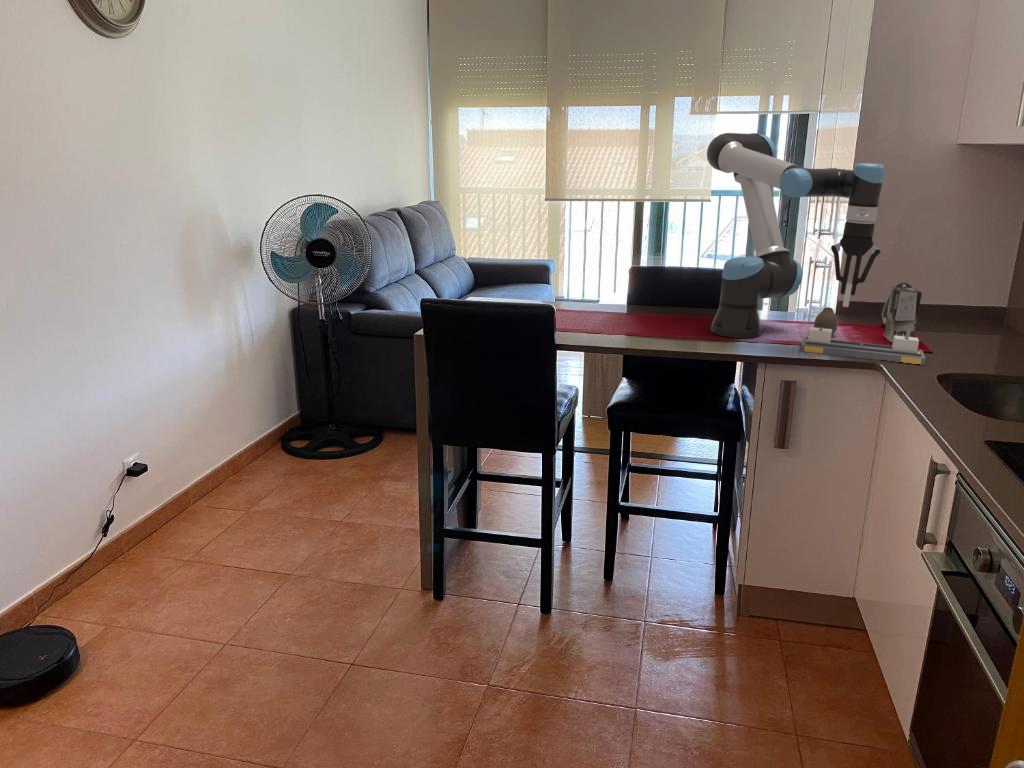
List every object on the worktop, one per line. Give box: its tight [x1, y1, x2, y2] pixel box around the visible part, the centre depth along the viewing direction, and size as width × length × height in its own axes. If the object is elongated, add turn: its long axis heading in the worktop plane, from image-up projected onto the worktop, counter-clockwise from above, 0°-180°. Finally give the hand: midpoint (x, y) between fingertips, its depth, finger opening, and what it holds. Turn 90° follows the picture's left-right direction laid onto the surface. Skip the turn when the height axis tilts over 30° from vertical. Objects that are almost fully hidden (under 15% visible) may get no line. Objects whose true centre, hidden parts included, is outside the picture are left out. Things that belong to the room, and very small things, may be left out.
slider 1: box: [807, 326, 832, 344], centre depth 218 cm, size 6×4×4 cm, turn 67°
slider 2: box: [891, 335, 920, 353], centre depth 210 cm, size 6×4×4 cm, turn 67°
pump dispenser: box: [881, 281, 914, 325], centre depth 247 cm, size 10×10×15 cm
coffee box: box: [883, 286, 923, 343], centre depth 229 cm, size 9×6×16 cm
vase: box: [813, 306, 839, 337], centre depth 236 cm, size 7×7×9 cm
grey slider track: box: [800, 336, 927, 366], centre depth 215 cm, size 32×10×3 cm, turn 67°
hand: (845, 305), depth 214 cm, fingers closed
